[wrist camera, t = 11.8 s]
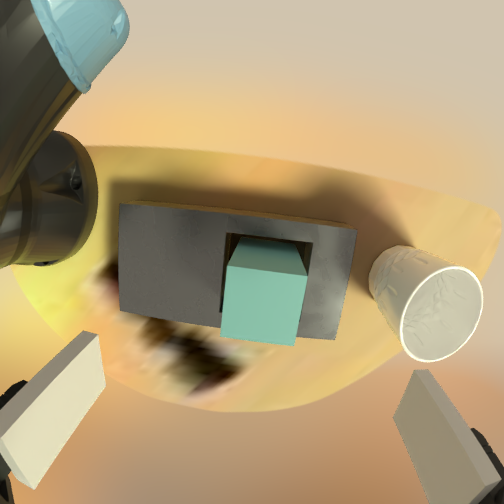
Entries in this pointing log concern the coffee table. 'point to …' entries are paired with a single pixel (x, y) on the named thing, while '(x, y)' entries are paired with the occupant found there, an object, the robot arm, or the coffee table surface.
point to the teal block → (263, 292)
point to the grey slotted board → (222, 261)
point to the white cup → (426, 301)
